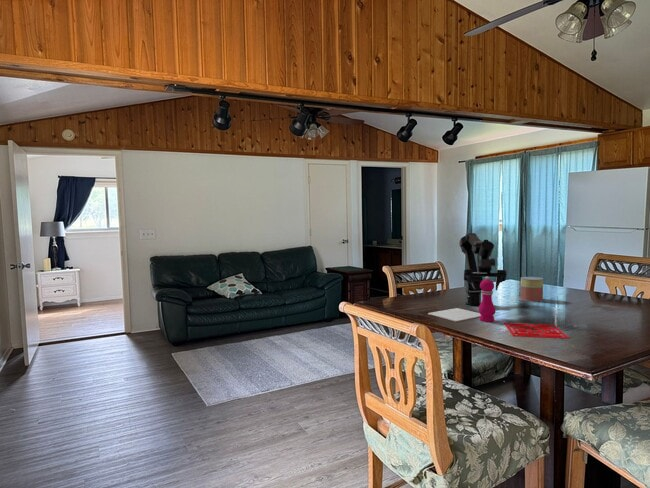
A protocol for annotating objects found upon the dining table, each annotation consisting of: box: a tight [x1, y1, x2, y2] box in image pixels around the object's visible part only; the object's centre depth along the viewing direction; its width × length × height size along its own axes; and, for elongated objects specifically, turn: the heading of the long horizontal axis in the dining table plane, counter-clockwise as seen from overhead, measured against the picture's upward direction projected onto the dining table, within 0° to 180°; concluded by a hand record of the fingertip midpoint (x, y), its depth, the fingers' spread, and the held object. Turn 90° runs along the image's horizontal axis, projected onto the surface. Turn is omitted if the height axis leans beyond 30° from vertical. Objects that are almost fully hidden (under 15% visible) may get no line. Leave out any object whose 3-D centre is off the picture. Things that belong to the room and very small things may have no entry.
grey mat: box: [427, 307, 481, 323], centre depth 206 cm, size 20×18×1 cm
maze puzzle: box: [503, 322, 570, 339], centre depth 177 cm, size 20×20×1 cm
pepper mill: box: [478, 276, 497, 323], centre depth 194 cm, size 7×7×20 cm
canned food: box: [519, 276, 544, 303], centre depth 237 cm, size 11×11×12 cm
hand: (485, 289), depth 199 cm, fingers open, 9 cm apart
